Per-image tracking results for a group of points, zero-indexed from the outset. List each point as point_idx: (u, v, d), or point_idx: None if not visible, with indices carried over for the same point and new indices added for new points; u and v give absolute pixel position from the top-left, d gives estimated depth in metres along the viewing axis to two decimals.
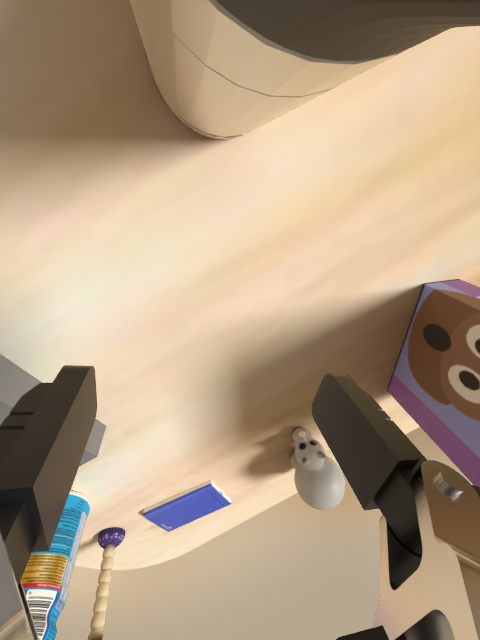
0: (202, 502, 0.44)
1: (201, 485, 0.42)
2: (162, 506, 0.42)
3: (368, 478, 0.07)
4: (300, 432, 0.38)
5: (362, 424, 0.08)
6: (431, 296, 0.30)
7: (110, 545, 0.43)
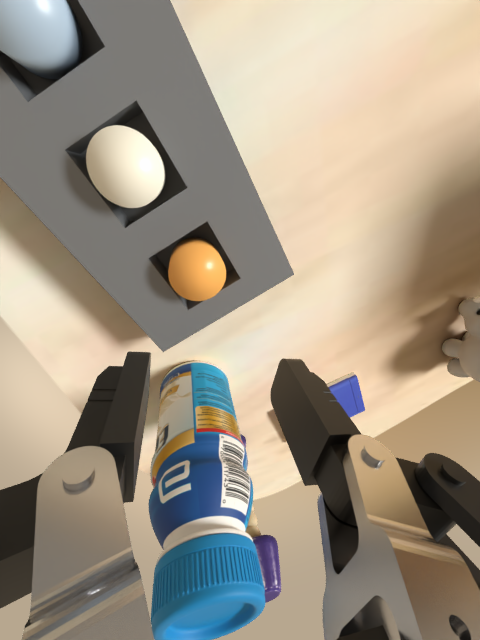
0: (340, 402, 0.38)
1: (343, 378, 0.36)
2: None
3: (308, 455, 0.08)
4: (476, 297, 0.33)
5: (305, 404, 0.08)
6: None
7: None
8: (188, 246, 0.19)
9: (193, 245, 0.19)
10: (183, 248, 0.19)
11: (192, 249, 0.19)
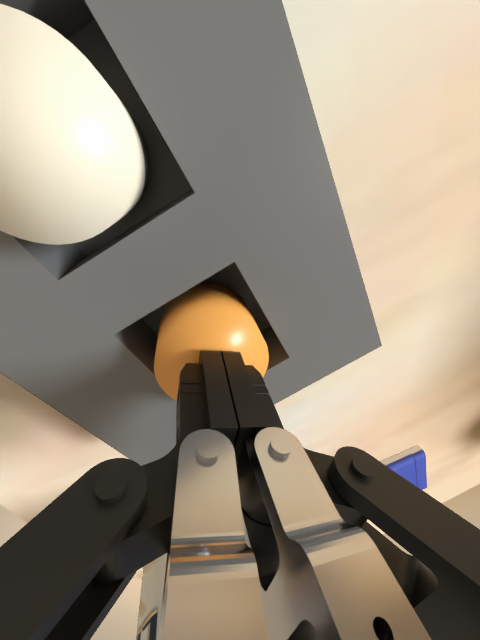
0: None
1: (404, 453, 0.26)
2: None
3: None
4: None
5: None
6: None
7: None
8: (195, 315, 0.09)
9: (206, 313, 0.09)
10: (185, 319, 0.09)
11: (204, 322, 0.09)
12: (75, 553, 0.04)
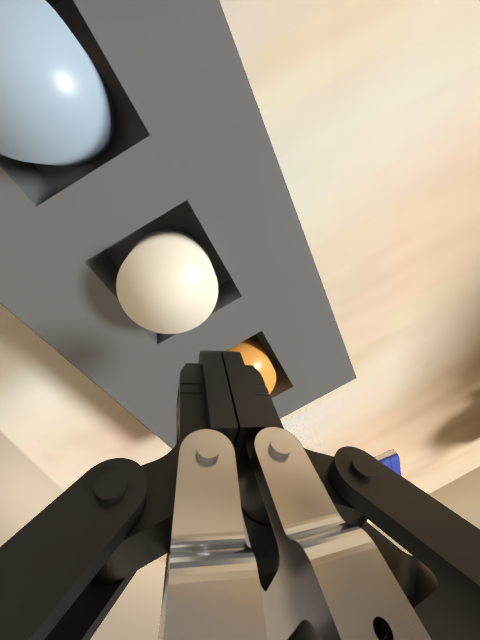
0: None
1: (382, 456, 0.32)
2: None
3: None
4: None
5: None
6: None
7: None
8: None
9: (241, 353, 0.16)
10: None
11: None
12: (75, 553, 0.04)
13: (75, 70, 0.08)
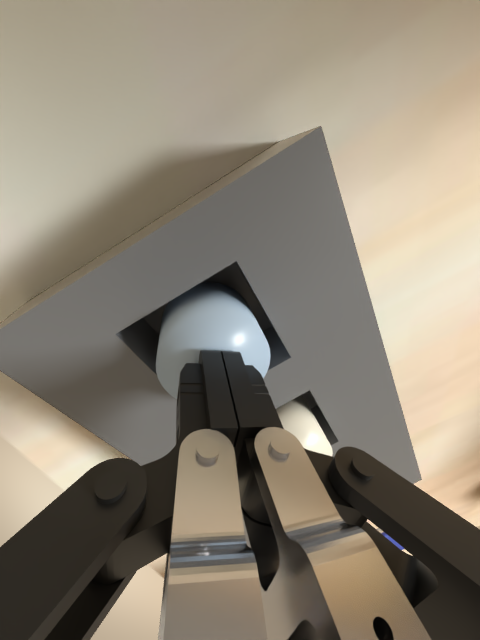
0: None
1: None
2: None
3: None
4: None
5: None
6: None
7: None
8: None
9: None
10: None
11: None
12: (75, 553, 0.04)
13: (261, 354, 0.10)
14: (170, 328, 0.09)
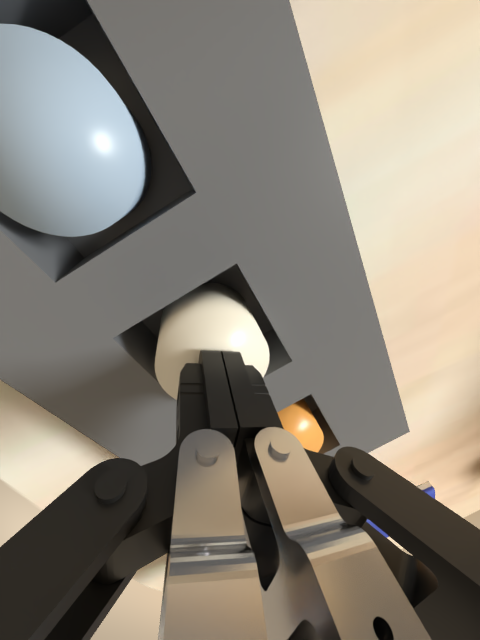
0: None
1: None
2: None
3: None
4: None
5: None
6: None
7: None
8: None
9: (286, 418, 0.14)
10: None
11: (285, 425, 0.14)
12: (75, 553, 0.04)
13: (121, 136, 0.07)
14: None
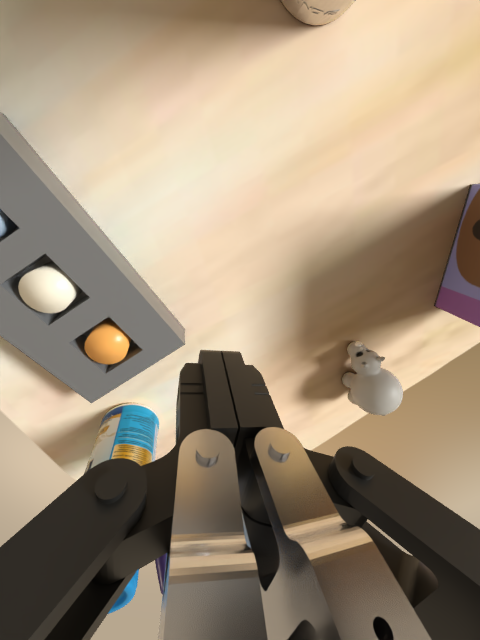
0: None
1: None
2: None
3: None
4: (356, 342, 0.40)
5: None
6: (479, 193, 0.33)
7: None
8: (97, 331, 0.28)
9: (100, 330, 0.28)
10: (93, 332, 0.28)
11: (99, 333, 0.28)
12: (75, 553, 0.04)
13: None
14: None
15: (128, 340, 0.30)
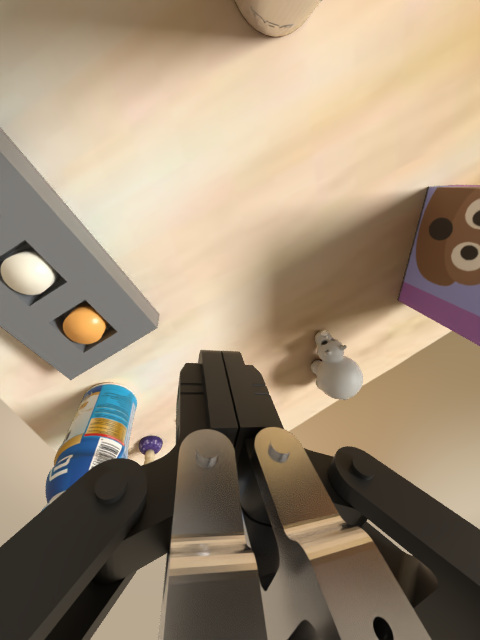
0: None
1: None
2: None
3: None
4: (322, 331, 0.43)
5: None
6: (435, 195, 0.36)
7: (151, 450, 0.47)
8: (74, 312, 0.31)
9: (77, 312, 0.31)
10: (71, 314, 0.31)
11: (76, 314, 0.31)
12: (75, 553, 0.04)
13: None
14: None
15: (104, 322, 0.33)
